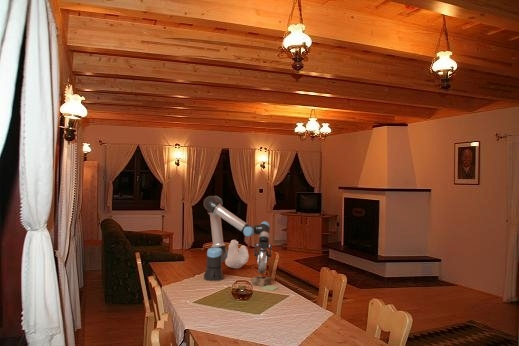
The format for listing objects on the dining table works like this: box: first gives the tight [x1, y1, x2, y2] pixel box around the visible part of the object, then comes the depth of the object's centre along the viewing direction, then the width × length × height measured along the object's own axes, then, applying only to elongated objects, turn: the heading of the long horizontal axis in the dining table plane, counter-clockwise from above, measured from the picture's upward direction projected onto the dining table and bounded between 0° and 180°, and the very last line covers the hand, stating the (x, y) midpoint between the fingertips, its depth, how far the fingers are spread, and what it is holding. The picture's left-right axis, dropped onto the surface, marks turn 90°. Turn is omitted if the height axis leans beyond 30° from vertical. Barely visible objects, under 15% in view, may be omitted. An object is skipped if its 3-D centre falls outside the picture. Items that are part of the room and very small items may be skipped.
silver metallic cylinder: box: [257, 247, 268, 274], centre depth 306 cm, size 7×7×18 cm
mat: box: [260, 285, 280, 291], centre depth 293 cm, size 10×10×1 cm
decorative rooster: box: [224, 239, 250, 270], centre depth 365 cm, size 25×16×25 cm, turn 35°
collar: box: [250, 275, 272, 287], centre depth 305 cm, size 11×11×5 cm
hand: (261, 263), depth 302 cm, fingers closed on silver metallic cylinder, 5 cm apart
